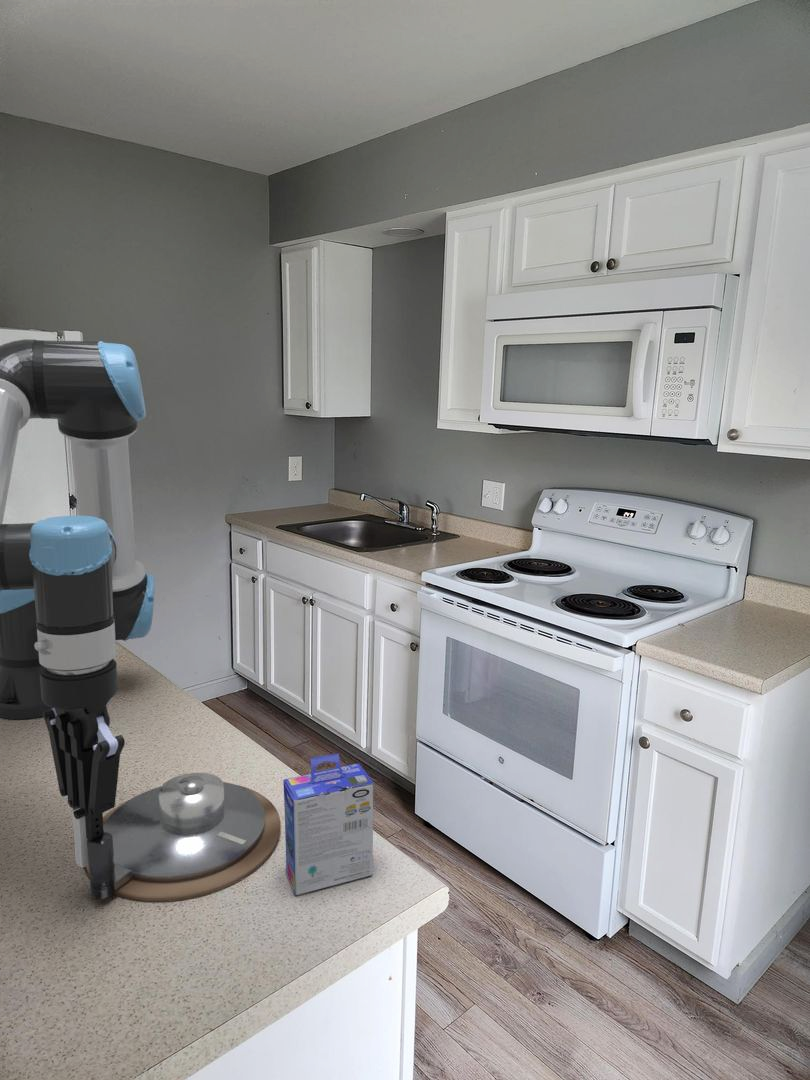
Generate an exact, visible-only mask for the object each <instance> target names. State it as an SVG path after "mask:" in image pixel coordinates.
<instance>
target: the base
mask: <svg viewBox="0 0 810 1080" xmlns="http://www.w3.org/2000/svg"><path fill="white" fill-rule="evenodd" d="M233 784H234V783H233ZM234 785H237V786H240V787H243V788H245V789H247V790H248V791H250V792H251V793H253V794H254V795H255V796H256V797H257V798H258V799H259V800H260V802H261V803H262V805H263V808H264V812H265V828H264V832H263V835H262V837H261V839H260V840H259V842H258V843H257V845H256V846H255V847H254V848H253V849H252V850H251V851H250V852H249V853H248V854H247V855H246V856H244V857H243V858H242V859H240V860H239V861H237V862H236V863H234V864H232V865H230V866H228V867H227V868H225V869H223V870H220V871H218V872H215V873H213V874H209V875H206V876H203V877H199V878H195V879H191V880H184V881H177V882H150V881H142V880H138V879H133V878H131V879H130V880H129V881H127V882H126V883H125V884H123V885H122V886H121V887H119V888H118V889H117V890H115V892H114V893H113V894H112V895H114V896H118V897H120V898H124V899H128V900H132V901H137V902H139V901H140V902H148V903H167V902H179V901H186V900H190V899H195V898H200V897H204V896H208V895H210V894H214V893H216V892H220V891H222V890H224V889H226V888H229V887H230V886H233V885H235V884H237V883H239V882H241V881H242V880H245V879H246V878H248V877H249V876H250V875H252V874H254V873H255V872H256V871H257V870H258V869H260V867H262V866H263V865H264V864H265V863H266V862H267V860H269V858H271V856H272V855H273V853H274V852H275V850H276V849H277V847H278V844H279V841H280V837H281V818H280V814H279V812H278V810H277V808H276V806H275V805H274V804H273V803H272V802H271V801H270V800H269V799H268V798H267V797H265V796H264V795H263V794H261V793H259V792H257V791H255V790H254V789H251V788H248V787H246V786H244V785H243V786H242V785H238V784H234ZM129 800H130V799H128V800H126V801H124V802H123V803H120V804H119V805H117V806H115V807H114V808H112V809H111V810H110V811H109V812H108V813H107V814H105V815H103V826H104V824H105V822H106V821H107V819H108V818H109V817H110V816H111V814H112V813H113V812H114V811H115V810H117V809H118V808H119V807H120V806H121V805H123V804H124V803H126V802H127V801H129ZM84 868H85V871H86V872H87V875H88V876H89V877H90V874H89V865H88V866H86V867H84Z"/></svg>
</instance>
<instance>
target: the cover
mask: <svg viewBox="0 0 810 1080" xmlns="http://www.w3.org/2000/svg"><path fill="white" fill-rule="evenodd" d="M223 782H224V781H223V780H222V779H221V777H219V776H218V775H215V774H211V773H208V772H189V773H184V774H180V775H178V776H177V775H176V776H175V777H172V778H169V780H167V781H166V782H165V783H163V784H162V785H160V787H161V788H160V790H159V810H160V824H161V827H162V828H163V829H164V830H165V831H167V832H169V833H172V834H175V835H195V834H200V833H203V832H206V831H208V830H210V829H212V828H214V827H215V826H217V825H218V824H219V823H220V822H221V821H222V820H223V818H224V814H225V813H224V784H223Z"/></svg>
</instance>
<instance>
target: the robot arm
mask: <svg viewBox="0 0 810 1080" xmlns="http://www.w3.org/2000/svg"><path fill="white" fill-rule="evenodd" d="M141 379H142V378H141V375H140V371H139V366H138V361H137V357H136V354H135V352H134V351H133V349H132V348H131V347H130V346H127V345H126V344H122V343H112V342H104V341H103V340H100V341H91V340H89V341H88V340H87V341H83V340H82V341H81V340H79V341H78V340H77V341H76V340H41V339H26V338H25V339H18V340H12V341H9V342H6V343H4V344H1V345H0V718H3V719H8V720H9V719H10V720H25V719H26V720H27V719H35V718H36V719H37V718H41V717H43V720H44V723H45V725H46V728H47V731H48V736H49V741H50V746H51V747H50V748H51V752H52V757H53V763H54V768H55V773H56V778H57V783H58V790H59V793H60V796H61V797H67V803H68V806H69V807H70V808H71V809H72V812H71V813H72V824H73V825H72V827H73V828H72V829H73V839H74V853H75V855H74V856H75V864H77V865H78V867H80V868H81V869H83V868H85V867H86V866H88V865H89V860H88V847H87V840H89V841H93V840H95V839H98V838H100V837H102V836H103V833H104V827H103V817H104V814H103V813H105V812H107V811H109V810H110V811H111V810H113V809H114V808H116V798H117V788H118V779H119V771H120V770H119V768H120V767H119V766H120V760H121V754H122V752H123V749H124V746H125V745H126V744H125V743H126V742H125V741H126V740H125V738H124V736H123V735H122V734H120V735H117V736H114V734H113V732H112V731H111V730H110V728H109V727H110V724H111V719H110V714H109V712H108V707H107V705H108V703H109V702H110V701H111V699H112V698H113V697H115V695H116V694H117V691H118V688H119V687H118V686H119V685H118V667H117V664H118V663H117V661H116V660H115V657H116V656H117V646H116V645H117V644H116V643H117V641H122V642H123V641H124V642H126V641H128V640H133V639H141V638H142V639H143V638H145V637H146V636H148V634H149V633H150V631H151V628H152V623H153V616H154V608H155V607H154V604H155V602H154V600H155V590H156V589H155V582H156V581H155V577H154V575H153V574H149V573H146V572H147V571H146V567H145V566H144V564H143V563H142V562H141V561H139V560H137V556H136V555H137V554H136V542H135V531H134V530H135V527H134V526H135V525H134V512H133V511H134V510H133V496H132V482H131V481H132V480H131V467H130V451H129V439H130V438H131V437H132V436H133V435H134V434H135V433H136V432H137V430H138V422H139V421H141V420H144V419H146V416H147V412H146V404H145V399H144V392H143V385H142V380H141ZM31 419H42V420H43V419H45V420H46V419H47V420H49V419H50V420H57V426H58V431H59V433H60V434H61V435H62V436H64V437H65V438H66V439H68V440H69V441H70V449H71V457H72V458H71V460H72V467H73V468H72V469H73V476H74V486H75V496H76V497H75V498H76V506H77V507H76V508H77V515H62V516H53V517H47V518H45V519H40V520H38V521H36V522H30V523H29V522H27V523H23V522H22V523H3V521H4V515H5V510H6V505H7V500H8V493H9V488H10V485H11V484H10V483H11V479H12V478H11V477H12V472H13V467H14V460H15V455H16V449H17V446H18V445H17V444H18V440H19V439H18V438H19V433H20V431H21V430H22V429H23V428H24V427H25V426H26V425H27V423H28V422H29V420H31Z"/></svg>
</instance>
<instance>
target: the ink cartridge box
mask: <svg viewBox="0 0 810 1080" xmlns="http://www.w3.org/2000/svg"><path fill="white" fill-rule="evenodd" d="M326 762H327V763H335V767H331V768H327V769H322V770H317V769H316V767H318V766H320V765H322V764H324V763H326ZM309 763H310V764H309V766H310V773H308V774H303V775H298V776H295V777H290V778H284V779H283V781H282V782H283V803H284V806H283V807H284V827H285V828H284V829H285V830H284V831H285V835H284V837H285V873H286V876H287V880H288V882H289V885H290V887H291V891H292V892H293V894H294V896H295V895H296V896H300V895H304V894H307V893H310V892H314V891H318V890H321V889H325V888H328V887H333V886H337V885H340V884H344V883H347V882H352V881H355V880H358V879H362V878H366V877H369V876H373V872H374V870H373V868H374V864H373V863H374V862H373V861H374V854H373V853H374V851H373V850H374V848H373V847H374V825H373V823H374V785H375V784H374V781H373V780H372V778H371V777H370V776H369V775H368V773H367V772H366V771H365V769H364V768H363V767H362V765H361V764H360V763H354V764H350V765H345V766H342V764H341V759H340V754H339V753H333V754H328V755H322V756H317V757H311V758H309Z"/></svg>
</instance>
